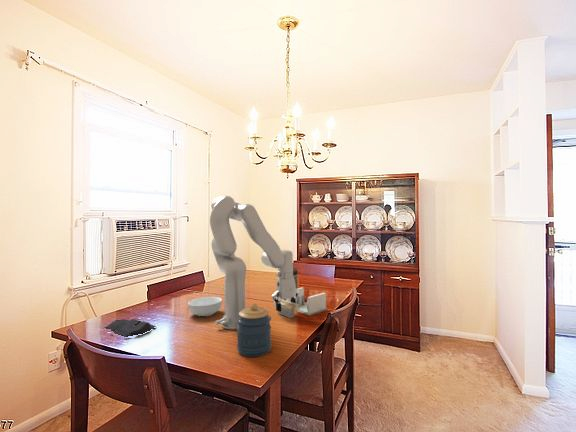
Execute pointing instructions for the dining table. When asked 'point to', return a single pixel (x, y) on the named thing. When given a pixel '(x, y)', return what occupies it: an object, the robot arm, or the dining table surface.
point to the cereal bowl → (205, 306)
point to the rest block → (286, 313)
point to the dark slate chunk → (129, 327)
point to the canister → (254, 331)
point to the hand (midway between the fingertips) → (286, 308)
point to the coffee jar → (295, 276)
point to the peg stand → (310, 303)
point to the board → (287, 306)
